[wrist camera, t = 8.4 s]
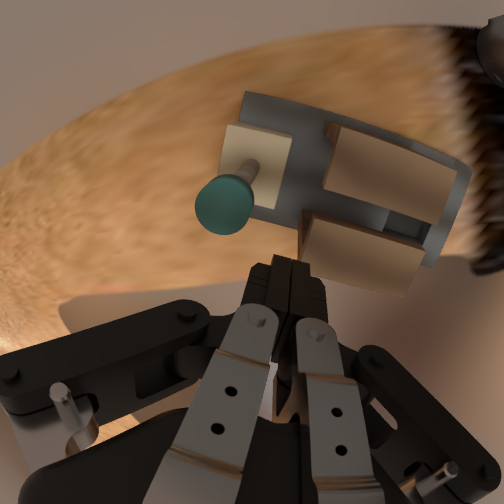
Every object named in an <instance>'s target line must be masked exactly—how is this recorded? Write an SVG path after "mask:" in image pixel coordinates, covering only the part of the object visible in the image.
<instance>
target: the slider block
mask: <svg viewBox="0 0 504 504" xmlns="http://www.w3.org/2000/svg"><path fill="white" fill-rule="evenodd" d="M292 137H293V134H289V133H285V132H281V131H277V130H273V129H268V128H264V127H260V126H255V125H251V124H246V123H241V122H235V123H231V124H228V125H227V130H226V135H225V140H224V144H223V149H222V154H221V160H220V165H219V170H218V175H217V177H215V178H214V179H212V180H211V181H210V182H209V183H208V184H207V185H206V186H205V187H204V188H203V189H202V190H201V191H200V192H199V194H198V195H197V198H196V201H195V212H196V215H197V218H198V220H199V221H200V223H201V224H202V225H203V226H204V227H205V228H206V229H207V230H209V231H210V232H213V233H215V234H219V235H229V234H233V233H236V232H238V231H239V230H241V229H242V228H243V227H244V226H245V224H246V223H247V221H248V219H249V216H250V214H251V211H252V209H253V206H254V205H258V206H262V207H266V208H270V209H274V208H275V204H276V200H277V196H278V193H279V189H280V185H281V181H282V177H283V173H284V169H285V165H286V161H287V158H288V154H289V150H290V146H291V142H292Z"/></svg>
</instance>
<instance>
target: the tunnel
mask: <svg viewBox="0 0 504 504" xmlns="http://www.w3.org/2000/svg"><path fill="white" fill-rule="evenodd" d="M239 122H241V123H246V124H251V125H255V126H260V127H264V128H268V129H273V130H277V131H281V132H285V133H289V134H293V137H292V142H291V146H290V150H289V154H288V158H287V161H286V165H285V169H284V173H283V177H282V181H281V185H280V189H279V193H278V196H277V200H276V204H275V208H274V209H270V208H266V207H262V206H258V205H254V206H253V209H252V211H251V214H250V216H249V217H250V218H254V219H258V220H262V221H266V222H270V223H274V224H278V225H281V226H285V227H289V228H293V229H297V230H298V261H302V262H306V263H310V274H311V275H313V276H316V277H320V278H324V279H328V280H332V281H336V282H340V283H345V284H348V285H352V286H356V287H360V288H364V289H368V290H372V291H376V292H380V293H384V294H388V295H392V296H396V297H400V298H403V297H404V295H405V293H406V292H407V289H408V288H409V286H410V284H411V282H412V280H413V278H414V276H415V273H416V271H417V269H418V267H419V265H423V266H427V267H430V268H433V267H434V265H435V263H436V261H437V259H438V257H439V255H440V253H441V250H442V248H443V246H444V244H445V241H446V239H447V237H448V235H449V232H450V230H451V228H452V225H453V223H454V220H455V218H456V216H457V213H458V211H459V208H460V205H461V203H462V200H463V197H464V195H465V192H466V189H467V187H468V184H469V181H470V178H471V175H472V172H473V168H471V167H469V166H467V165H465V164H463V163H461V162H459V161H457V160H455V159H453V158H451V157H449V156H447V155H444V154H442V153H440V152H438V151H436V150H433V149H431V148H429V147H427V146H424V145H422V144H419V143H417V142H415V141H412V140H410V139H407V138H405V137H402V136H400V135H397V134H395V133H392V132H389V131H387V130H384V129H381V128H378V127H376V126H373V125H370V124H367V123H364V122H361V121H358V120H355V119H352V118H349V117H346V116H343V115H339V114H336V113H333V112H330V111H326V110H323V109H319V108H316V107H312V106H308V105H304V104H301V103H297V102H293V101H289V100H285V99H280V98H276V97H272V96H267V95H263V94H258V93H253V92H248V91H245V95H244V99H243V103H242V108H241V112H240V117H239Z"/></svg>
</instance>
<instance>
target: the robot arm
mask: <svg viewBox="0 0 504 504" xmlns="http://www.w3.org/2000/svg"><path fill="white" fill-rule="evenodd" d="M476 44H477V53H478V57H479V60H480V63H481V65H482V67H483V69H484V71H485V72H486V74H487V75H488V77H489V78H490V79H491V80H492V81H493V82H494V83H495V84H497V85H498V86H499V87H501V88H503V89H504V15H501V16H498V17H495V18H492V19H489V21H488V25H487V26H485V27H483V28H482V29H481V30H480V32H479V34H478V36H477V42H476ZM271 355H272V356H271ZM270 357H271V362H274V363H278V370H277V372H276V374H275V376H274V379H273V401H272V402H273V403H272V422H271V421H269V420H266V419H264V418H262V417H259V416H258V413H259V409H260V405H261V401H262V398H263V393H264V389H265V386H266V382H267V378H268V374H269V369H270V365H269V361H270ZM198 379H202V380H201V383H200V385H199V387H198V389H197V391H196V393H195V396H194V398H193V400H192V402H191V404H190V407H189V408H180V409H174V410H170V411H167V412H164V413H161V414H159V415H157V416H155V417H153V418H151V419H149V420H147V421H145V422H143V423H141V424H139V425H137V426H135V427H133V428H131V429H129V430H127V431H125V432H123V433H121V434H118V435H116V436H114V437H112V438H110V439H108V440H106V441H103V442H101V443H99V444H97V445H95V446H92V447H90V448H88V449H86V450H84V449H85V448H87V447H89V446H90V445H92V444H93V443H94V442H95V441H96V439H97V437H98V434H99V426H102V425H104V424H107V423H109V422H112V421H114V420H116V419H119V418H121V417H123V416H126V415H128V414H130V413H133V412H135V411H137V410H139V409H142V408H144V407H146V406H148V405H151V404H153V403H155V402H157V401H159V400H162V399H164V398H166V397H168V396H170V395H172V394H174V393H176V392H178V391H180V390H183V389H185V388H187V387H189V386H191V385H193V384H194V383H196V382H197V381H198ZM374 398H376V399H377V400H378V401H379V402H380V403H381V404H382V405H383V407H384V408H385V409H386V410H387V411H388V412H389V413H390V414H391V415H392V416H393V417H394V418H395V420H396V421H397V425H398V428H397V430H395V429H393V428H392V427H391V426H390V425H389V424H388V423H387V422H386V421H385V420H384V419H383V418H382V416H381V415H380V414H379V413H378V412H377V411H376V410H375V409H374V408H373V407H372V405H371V404H370V403H371V401H372V400H373V399H374ZM0 404H1V406H2V408H3V409H4V411H5V412H6V414H7V415H8V417H9V418H10V421H11V424H12V427H13V430H14V433H15V436H16V439H17V441H18V444H19V447H20V449H21V452H22V454H23V457H24V459H25V461H26V464H27V466H28V468H29V471H30V473H31V475H30V476H29V477H28V478H27V479H26V481H25V482H24V484H23V486H22V488H21V490H20V494H19V498H18V504H472V503H474V502H476V501H478V500H479V499H481V498H482V497H484V496H486V495H487V494H489V493H491V492H492V491H493V490H495V489H496V488H497V487H498V486H499V484H500V481H501V469H500V466H499V464H498V463H497V461H496V460H495V459H494V458H493V457H492V456H491V455H490V454H489V453H488V451H487V450H486V449H485V448H484V447H483V446H482V445H481V444H480V443H479V442H478V441H477V440H476V439H475V438H474V437H473V436H472V435H471V434H470V433H469V432H468V431H467V430H466V429H465V428H464V427H463V426H462V425H461V424H460V423H459V422H458V421H457V420H456V419H455V418H454V417H453V416H452V415H451V414H450V413H449V412H448V411H447V410H446V409H445V408H444V407H443V406H442V405H441V404H440V403H439V402H438V401H437V400H436V399H435V398H434V397H433V396H432V395H431V394H430V393H429V392H428V391H427V390H426V389H425V388H424V387H423V386H422V385H421V384H420V383H419V382H418V381H417V380H416V379H415V378H414V377H413V376H412V375H411V374H410V373H409V372H408V371H407V370H406V369H405V368H404V367H403V366H402V365H401V364H400V363H399V362H398V361H397V360H396V359H395V358H394V357H393V356H392V355H391V354H390V353H389V352H387V351H386V350H385V349H383V348H381V347H378V346H375V345H365V346H363V347H362V348H360V350H359V351H358V352H357V351H354V350H352V349H350V348H348V347H346V346H344V345H342V344H340V343H339V342H338V340H337V335H336V332H335V331H334V329H333V328H332V327H331V326H330V325H329V324H328V313H327V303H326V292H325V286H324V285H323V283H322V281H321V280H320V279H319V278H316V277H312V276H311V274H310V263H306V262H302V261H298V260H295V259H292V261H291V258H287V257H283V256H279V255H275V254H274V255H273V258H272V261H271V265H266V264H262V263H257V264H256V265H254V266H253V267H251V270H250V274H249V277H248V280H247V284H246V287H245V291H244V294H243V298H242V301H241V305H240V307H238V308H237V310H236V312H234V313H232V314H230V315H225V316H210V314H209V311H208V310H207V308H206V307H204V306H203V305H202V304H200V303H198V302H196V301H192V300H186V299H185V300H184V299H182V300H176V301H173V302H170V303H167V304H163V305H160V306H157V307H154V308H152V309H148V310H145V311H142V312H139V313H136V314H133V315H130V316H127V317H124V318H121V319H117V320H114V321H111V322H108V323H105V324H102V325H98V326H95V327H92V328H89V329H86V330H82V331H79V332H76V333H73V334H70V335H66V336H63V337H60V338H57V339H53V340H50V341H47V342H43V343H40V344H37V345H34V346H30V347H27V348H23V349H20V350H17V351H13V352H10V353H7V354H4V355H1V356H0Z"/></svg>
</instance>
